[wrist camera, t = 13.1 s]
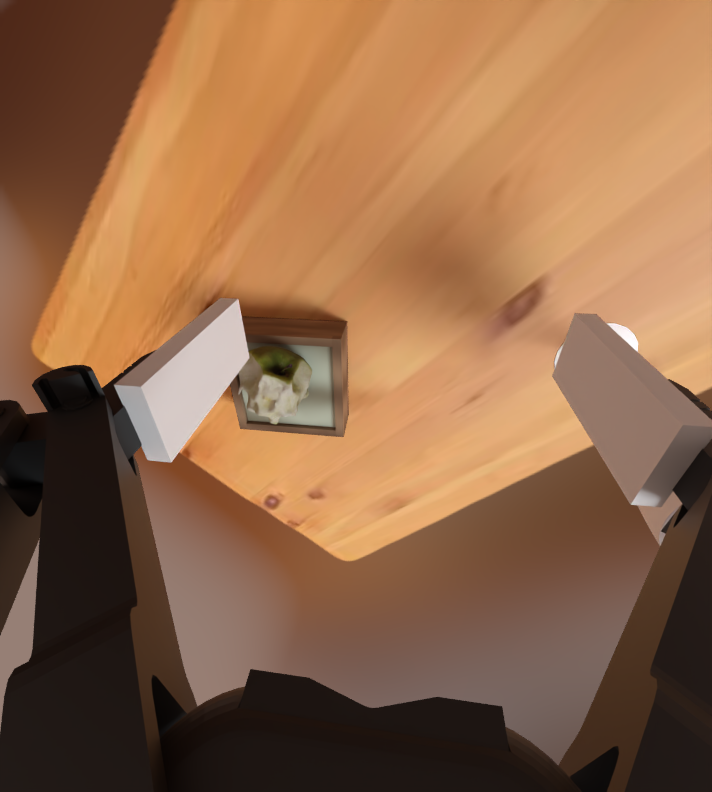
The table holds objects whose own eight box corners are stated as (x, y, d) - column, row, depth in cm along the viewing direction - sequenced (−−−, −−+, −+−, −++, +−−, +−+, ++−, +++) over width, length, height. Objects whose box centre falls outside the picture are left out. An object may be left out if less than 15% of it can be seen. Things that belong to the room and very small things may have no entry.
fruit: (287, 317, 41) (281, 350, 34) (328, 379, 46) (329, 418, 39) (219, 353, 43) (202, 391, 36) (266, 409, 48) (258, 451, 41)
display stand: (234, 316, 45) (217, 332, 41) (347, 321, 43) (340, 339, 40) (252, 407, 53) (240, 428, 49) (348, 414, 51) (343, 437, 48)
